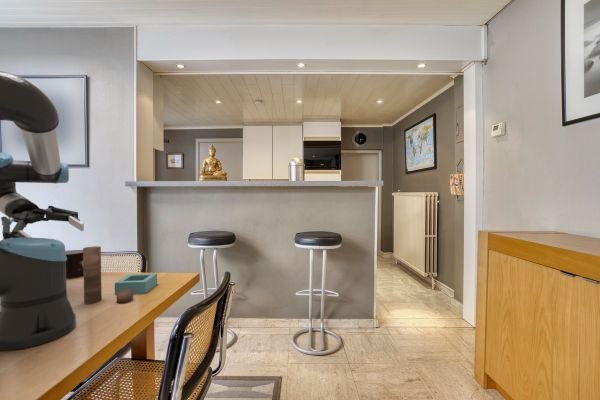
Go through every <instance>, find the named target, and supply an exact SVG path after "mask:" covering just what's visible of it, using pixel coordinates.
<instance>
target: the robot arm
mask: <svg viewBox="0 0 600 400" xmlns="http://www.w3.org/2000/svg"><path fill="white" fill-rule="evenodd" d="M0 121H7V122H13V124H14V126H16V127H17V128H19V130H20V131H21V132H20V133H22V137H23V140H24V144H25V148H26V151H27V155H28V157H29V160H17V159H15V160H14V158H13V156H12V154H9V153H5V152H0V213H2V214H3V215H5V216H1V217H0V220H1V225H2V239H1V240H0V351H14V350H16V351H17V350H21V349H27V348H32V347H34V346H38V345H39V346H40V345H43V344H46V343H48V342H51V341H54V340H56V339H59V338H61V337H63V336H65V335H67V334H68V333H70V332H71V331H73V330H74V329H75V328H76V327H77V317H76V314H75V312H74V310H73V307H72V305H71V303H70V301H69V299H68V295H67V294H68V293H67V278H66V260H67V257H66V246H65V244H64V242H62V241H61V240H58V239H53V238H47V237H33V236H31V235H30V234H29V233H26V232H25V231H23V230H24V229H25V228H26V227H27V226H28V224H31V225H32V224H35V223H38V222H49V221H55V222H68V224H69V225H71V226H72V227H74V228H76V229H78V230H79V231H80V232H84V231H85V224H84V222H82V221H81V220H80V218H79V212H78V211H74V210H68V209H65V208H59V207H55V206H54V205H48V206H47V208H44V209H43V208H40V207H39V206H38V205H37V204H36V203H34V202H33V201H31V200H30V199H29V198H27V197H25V196H23V195H21V194H20V193H19V192H17V188H16V185H17V184H16V183H25V184H26V183H32V184H34V183H35V184H36V183H37V184H55V185H56V184H66V183H68V182H69V180H70V179H69V178H70V170H69V169H70V168H69V164H68V163H66V162H61V158H60V150H59V145H58V144H59V143H58V137H57V136H58V135H57V130H56V129H57V128H58V127H59V124H60V118H59V114H58V110H57V108H56V106H55V105H54V103H53V102H52V100H51V99H50V98H49V97H48V96H47V95H46V94H45V93H44V92H43V91H42V90H41V89H39V88H38V87H37V86H36V85H34V84H33V83H32V82H30V81H28V80H27V79H25V78H23V77H22V76H19V75H16V74H15V73H14V74H13V73H10V72H8V71H7V72H6V71H1V70H0ZM13 223H16V224H15V225H14V227H13V228H12V230H11V226H12V224H13Z"/></svg>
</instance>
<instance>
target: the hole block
mask: <svg viewBox="0 0 600 400" xmlns="http://www.w3.org/2000/svg"><path fill="white" fill-rule="evenodd" d="M156 284H157V285H158V273H131V274H130V273H129V274H127V275H126V276H124V277H121V278H120V279H119V280H117V281H115V282H114V295H115V296H117V292H118V291H121V290H126V289H132V290H133V295H136V294H137V295H138V294H139V295H140V294H147V293H149V292H150V291H151V290H152V289H153V288H154V287H156V286H157V285H156Z"/></svg>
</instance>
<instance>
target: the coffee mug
mask: <svg viewBox="0 0 600 400" xmlns="http://www.w3.org/2000/svg"><path fill="white" fill-rule="evenodd" d="M65 252H66V257H67V260H66V279H76V278H82V277H84V269H83V249H74V250H73V249H72V250H65Z"/></svg>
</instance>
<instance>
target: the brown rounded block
mask: <svg viewBox="0 0 600 400" xmlns="http://www.w3.org/2000/svg"><path fill="white" fill-rule="evenodd" d="M132 301H134V294H133V290H132V289H126V290H121V291H118V292H117V295H116V303H117V304H127V303H131V302H132Z"/></svg>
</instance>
